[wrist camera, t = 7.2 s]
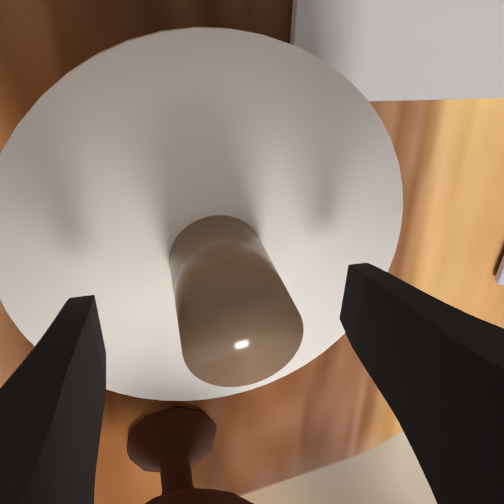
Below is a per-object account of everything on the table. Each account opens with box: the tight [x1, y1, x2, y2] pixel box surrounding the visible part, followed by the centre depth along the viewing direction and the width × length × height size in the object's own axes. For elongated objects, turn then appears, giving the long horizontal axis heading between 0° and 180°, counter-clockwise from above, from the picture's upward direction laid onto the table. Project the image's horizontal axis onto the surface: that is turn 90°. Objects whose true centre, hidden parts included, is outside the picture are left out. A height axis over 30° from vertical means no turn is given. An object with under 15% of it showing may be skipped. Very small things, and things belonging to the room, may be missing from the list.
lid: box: [0, 27, 403, 401], centre depth 12 cm, size 13×13×5 cm
